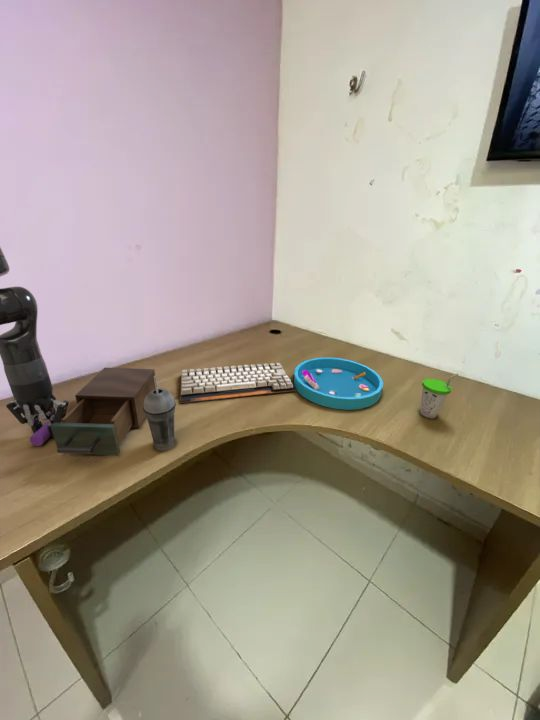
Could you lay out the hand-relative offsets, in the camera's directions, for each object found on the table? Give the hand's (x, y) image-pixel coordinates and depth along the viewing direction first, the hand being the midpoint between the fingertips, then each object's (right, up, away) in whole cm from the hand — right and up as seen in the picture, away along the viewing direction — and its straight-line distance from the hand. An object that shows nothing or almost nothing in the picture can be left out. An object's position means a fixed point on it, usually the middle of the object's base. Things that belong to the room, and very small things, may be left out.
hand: (47, 435), depth 78 cm
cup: (+105, +2, +16) cm, 106 cm away
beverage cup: (+30, -2, -1) cm, 30 cm away
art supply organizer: (+80, +10, +30) cm, 86 cm away
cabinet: (+14, +4, +11) cm, 18 cm away
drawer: (+14, -1, -2) cm, 14 cm away
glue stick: (+1, 0, 0) cm, 1 cm away
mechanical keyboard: (+45, +11, +28) cm, 54 cm away
